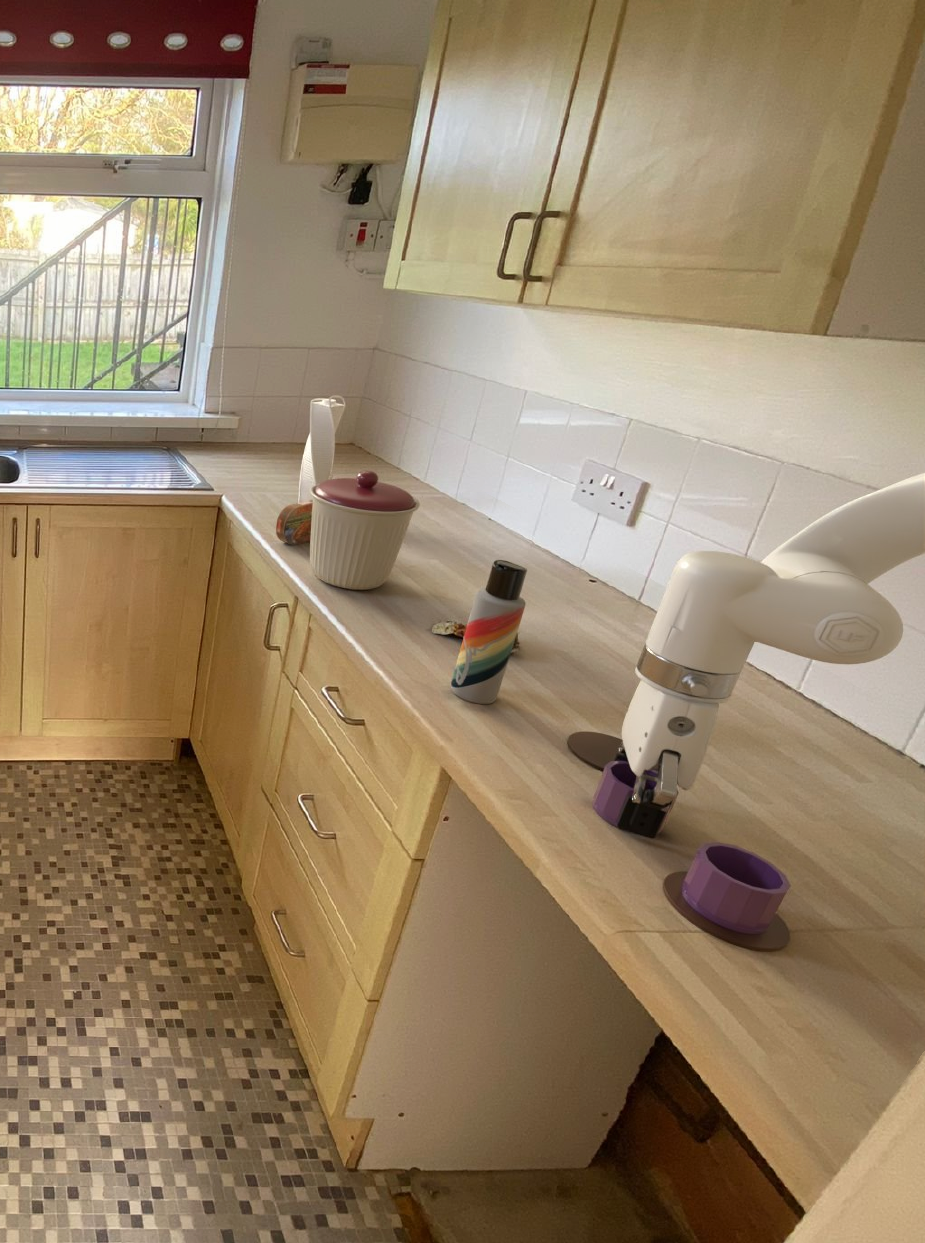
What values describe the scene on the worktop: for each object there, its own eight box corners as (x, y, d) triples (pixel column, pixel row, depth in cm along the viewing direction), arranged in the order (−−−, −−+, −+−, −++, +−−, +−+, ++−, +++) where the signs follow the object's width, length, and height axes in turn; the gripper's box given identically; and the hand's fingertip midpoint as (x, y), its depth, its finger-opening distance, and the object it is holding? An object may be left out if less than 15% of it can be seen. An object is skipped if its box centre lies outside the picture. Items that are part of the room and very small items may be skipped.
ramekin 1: (656, 809, 85) (671, 772, 83) (667, 844, 80) (684, 806, 78) (588, 789, 88) (602, 754, 86) (595, 822, 83) (610, 785, 81)
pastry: (435, 622, 127) (440, 602, 126) (519, 644, 121) (526, 624, 119) (427, 637, 122) (433, 617, 121) (515, 661, 115) (522, 641, 114)
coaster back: (650, 748, 96) (651, 745, 96) (663, 789, 89) (665, 786, 88) (564, 726, 100) (564, 723, 100) (570, 763, 93) (571, 760, 93)
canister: (351, 556, 154) (372, 455, 146) (422, 593, 138) (450, 481, 130) (276, 565, 149) (293, 461, 141) (340, 605, 133) (364, 489, 125)
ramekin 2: (756, 898, 73) (777, 858, 71) (777, 946, 68) (800, 904, 66) (675, 872, 76) (692, 833, 74) (688, 916, 71) (708, 875, 69)
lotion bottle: (440, 686, 108) (475, 557, 101) (470, 680, 110) (507, 552, 103) (474, 707, 103) (514, 573, 96) (505, 701, 105) (547, 569, 98)
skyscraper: (330, 519, 175) (353, 397, 164) (293, 515, 177) (314, 394, 166) (326, 507, 182) (348, 390, 172) (291, 504, 184) (310, 388, 174)
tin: (282, 548, 157) (288, 509, 154) (270, 543, 160) (276, 505, 157) (329, 536, 164) (336, 499, 161) (317, 531, 167) (324, 495, 164)
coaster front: (771, 898, 74) (773, 895, 74) (803, 968, 66) (805, 965, 66) (654, 861, 78) (656, 858, 78) (672, 923, 71) (673, 920, 71)
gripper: (759, 725, 69) (689, 874, 75) (712, 645, 83) (656, 777, 89) (654, 700, 72) (596, 845, 79) (626, 627, 86) (579, 756, 93)
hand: (628, 808), depth 84 cm, fingers open, 7 cm apart
